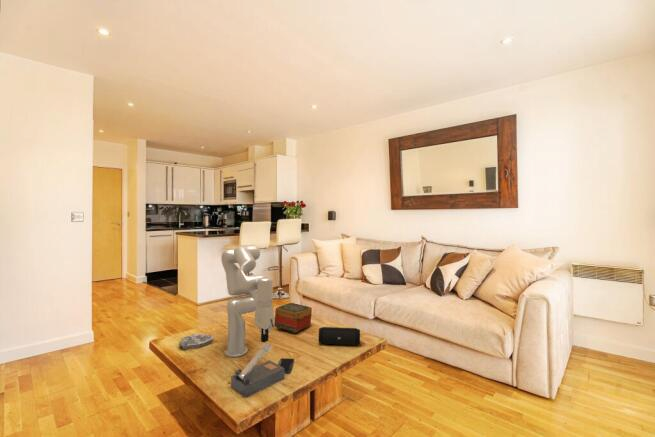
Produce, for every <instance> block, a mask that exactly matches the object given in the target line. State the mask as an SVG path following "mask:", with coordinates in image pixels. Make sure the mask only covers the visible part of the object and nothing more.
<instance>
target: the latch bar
mask: <svg viewBox="0 0 655 437" xmlns="http://www.w3.org/2000/svg"><path fill="white" fill-rule="evenodd" d="M272 349H273V346H272V345H270V344H269V343H266V342H264V343H262V345H261V346H260V349H259V350H258V352H257V353H256V354H255V356H254V357H253V358H252V359H251V360H250V362H248V363H247V365H246V366H245V368H244V369H243V370H241V372H239V373H238V374H237V376H238V377H239V378H241V379H242V380H243V376H245V375H247V374H249V372H250V371H251V370H252V369H253V367H255V366H257V364H258V362H259V361H260V360H261V359H262V358H263V357H264V355H265V354H266V353H269V352H270V351H271V350H272Z"/></svg>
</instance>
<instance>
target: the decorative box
mask: <svg viewBox="0 0 655 437" xmlns="http://www.w3.org/2000/svg"><path fill="white" fill-rule="evenodd" d="M312 310H313V308H312V307H311V306H307V305H303V304H298V303H295V302H289V303H286V304H284V305H280V306H277V307H276V308H275V310H274V311H275V312H274V327H276V328H277V329H278V330H282V331H286V332H289V333H292V334H297V333H298V332H301V331H302V330H304V329H307V328H309V327H310V326H311V321H312V312H313V311H312Z"/></svg>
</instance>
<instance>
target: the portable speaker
mask: <svg viewBox="0 0 655 437" xmlns="http://www.w3.org/2000/svg"><path fill="white" fill-rule="evenodd" d="M318 343H320V344H323V345H337V344H343V346H344V345H345V346H358V345H360V344H361V330H360V328H356V327H337V326H336V327H331V326H323V327H319V329H318Z"/></svg>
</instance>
